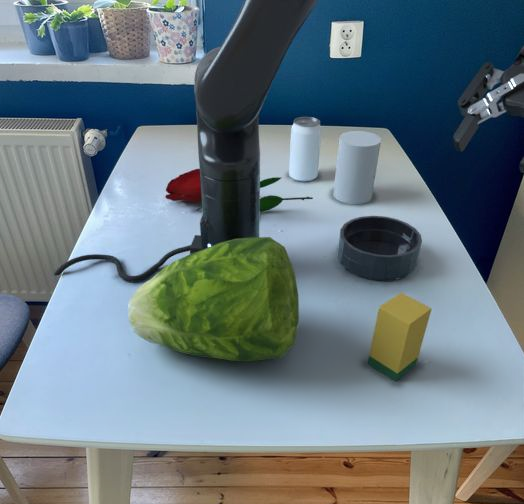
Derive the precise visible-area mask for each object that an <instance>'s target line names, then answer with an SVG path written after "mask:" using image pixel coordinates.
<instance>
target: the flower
mask: <svg viewBox="0 0 524 504" xmlns="http://www.w3.org/2000/svg"><path fill="white" fill-rule="evenodd" d="M282 178H283V177H281V176H280V177H279V176H278V177H276V176H275V177H268V178H265V179H262V180H260V189H261V188H265V187H268V186H270V185H272V184H275V183H276V182H278V181H280V180H281V179H282ZM165 192H166V193H168V194H165V195H164V196H165V197H164V198H165V199H167V200H168V201H169V200H170V201H172V202H178V201H181V202H188V203H190V202H191V203H199V205H200V207H199V208H197V209H195V212H197V211H200V210H201V209H202V195H201V180H200V168H195V169H192V170H189V171H187V172H184V173H182V174H179V175H178V176H177V177H175V178H172V179H171V180H170V181H169V182H167V185H166V188H165ZM313 199H314V197H311V196H310V197H309V196H305V197H284V198H283V197H281V196H278V195H264V196H262V197H261V196H260V213H263V212H267V211H270V210H272V209H275V208H276V207H278V206H279V205H280V204H281V203H282V202H283V201H295V200H301V201H305V200H313Z"/></svg>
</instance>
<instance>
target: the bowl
mask: <svg viewBox="0 0 524 504" xmlns="http://www.w3.org/2000/svg"><path fill="white" fill-rule="evenodd" d="M422 245H423V238H422V234H421V233H420V232H419V231H418V230H417V229H416V228H415V227H414V226H412V224H409V223H408V222H406V221H403V220H400V219H397V218H394V217H390V216H382V215H364V216H359V217H356V218H352V219H350V220H348V221H346V222H345V223H344V224H343V225H342V227H341V228H340V230H339V238H338V245H337V246H338V247H337V260H338V261H339V262H340V264H341V265H342V267H344V268H345V270H347V271H348V272H350V273H351V274H353V275H355V276H357V277H359V278H363V279H366V280H372V281H379V282H380V281H381V282H384V281H394V280H399V279H402V278H403V277H406V276H408V275H409V274H411V273H412V272H413V271H415V269H416V266H417V264H418V260H419V257H420V254H421V253H420V252H421V249H422Z"/></svg>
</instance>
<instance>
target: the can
mask: <svg viewBox="0 0 524 504" xmlns="http://www.w3.org/2000/svg"><path fill="white" fill-rule="evenodd" d="M321 143H322V125H321V120H320V119H318V118H316V117H312V116H300V117H296V118H294V120H293V124H292V126H291V128H290V144H289V163H288V164H289V165H288V176H289V177H290V178H291V179H292V180H294V181H297V182H302V183H308V182H312V181H314V180H316V178H318V175H319V164H320V154H321Z"/></svg>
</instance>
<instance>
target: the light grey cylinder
mask: <svg viewBox="0 0 524 504" xmlns="http://www.w3.org/2000/svg"><path fill="white" fill-rule="evenodd" d="M381 143H382V138H381V136H379V135H378V134H375V133H373V132H369V131H364V130H351V131H345V132H343V133H341V134H340V135H339V139H338V149H337V158H336V167H335V175H334V176H335V177H334V184H333V185H334V186H333V197H334V199H336V200H337V201H338V202H341V203H344V204H349V205H362V204H366V203H368V202H371V200H372V199H373V192H374V188H375V187H374V186H375V182H376V181H375V180H376V173H377V168H378V164H379V163H378V162H379V156H380V149H381Z"/></svg>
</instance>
